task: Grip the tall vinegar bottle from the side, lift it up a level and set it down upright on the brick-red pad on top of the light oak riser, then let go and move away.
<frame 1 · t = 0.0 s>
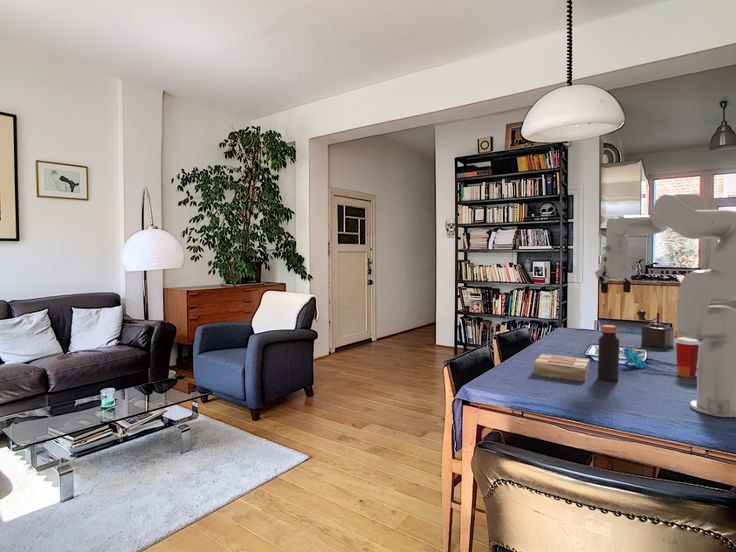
hand: (615, 292, 177), 31 cm above the table, tool pointing down, fingers open, 9 cm apart
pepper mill: (653, 346, 221), on the table
vinegar: (608, 379, 168), on the table
paper cup: (686, 375, 171), on the table
blue lumpy piece: (634, 367, 185), on the table
riser: (561, 373, 176), on the table
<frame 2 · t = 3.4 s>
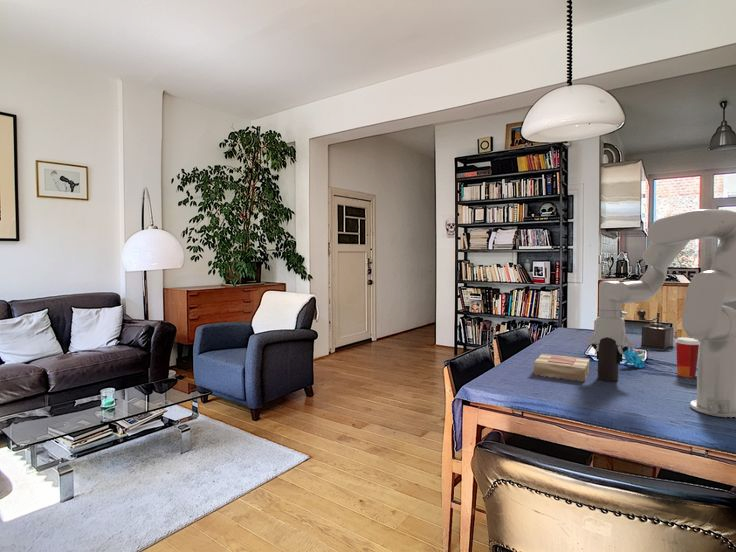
hand: (609, 362, 167), 7 cm above the table, tool pointing down, fingers closed on vinegar, 5 cm apart
vinegar: (607, 379, 168), on the table, touching gripper
everything else where it was.
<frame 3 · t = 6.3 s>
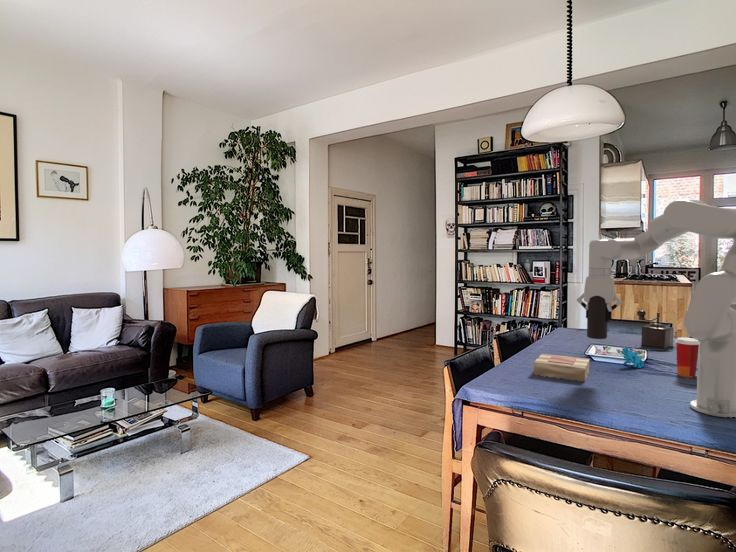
hand: (598, 320, 168), 22 cm above the table, tool pointing down, fingers closed on vinegar, 5 cm apart
vinegar: (596, 338, 169), point 15 cm above the table, touching gripper
everything else where it was.
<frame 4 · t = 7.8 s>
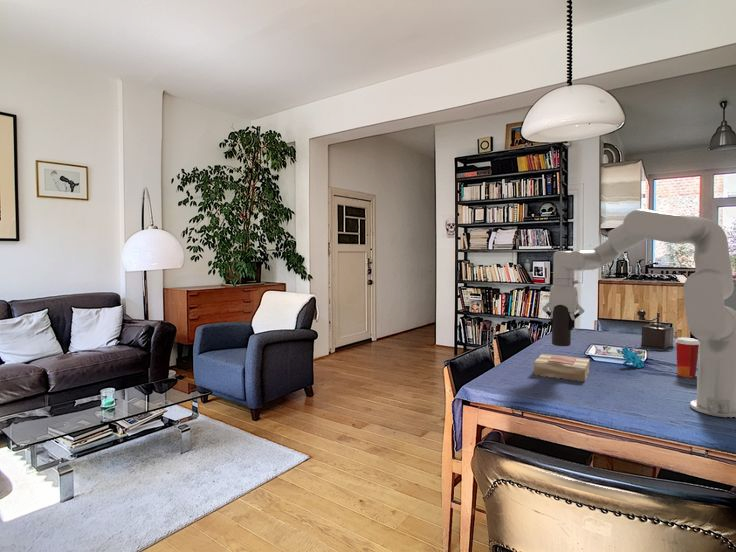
hand: (562, 328, 175), 18 cm above the table, tool pointing down, fingers closed on vinegar, 5 cm apart
vinegar: (561, 345, 176), point 11 cm above the table, touching gripper
everything else where it was.
when the fingers open (13 cm above the table, at t = 8.9 s): vinegar drops 1 cm, resting on riser.
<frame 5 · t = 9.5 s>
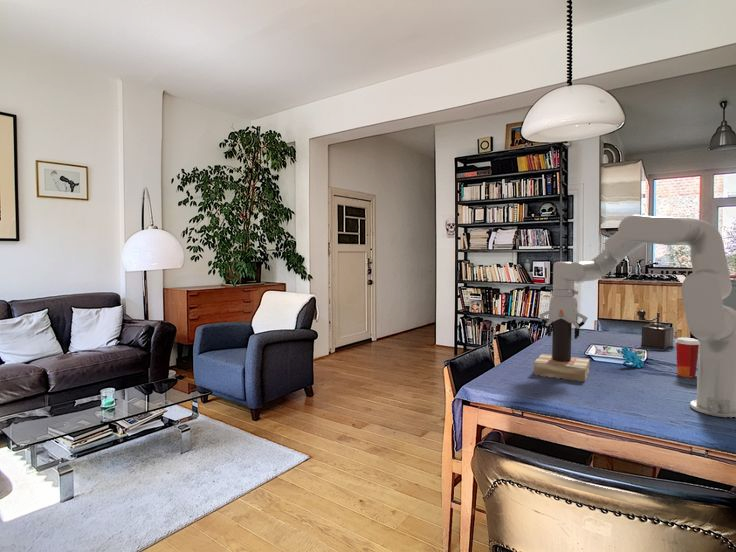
hand: (562, 337, 175), 14 cm above the table, tool pointing down, fingers open, 9 cm apart
vinegar: (561, 360, 176), point 5 cm above the table, touching riser
everything else where it was.
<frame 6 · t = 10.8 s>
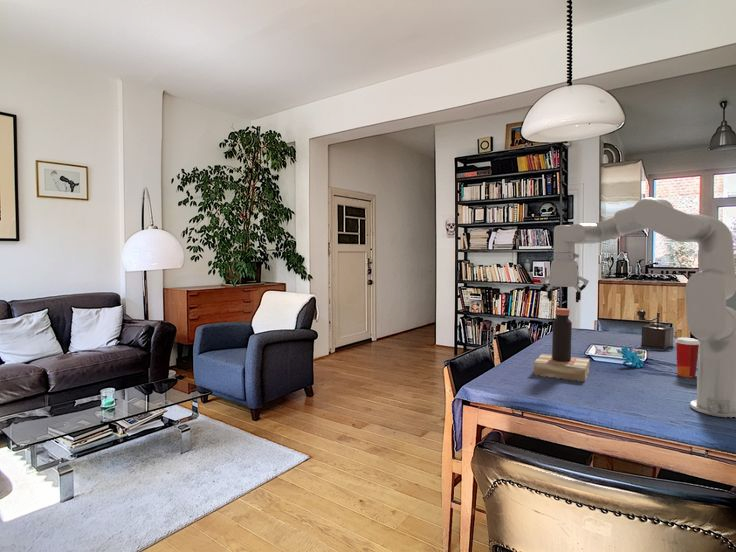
hand: (563, 301, 174), 28 cm above the table, tool pointing down, fingers open, 9 cm apart
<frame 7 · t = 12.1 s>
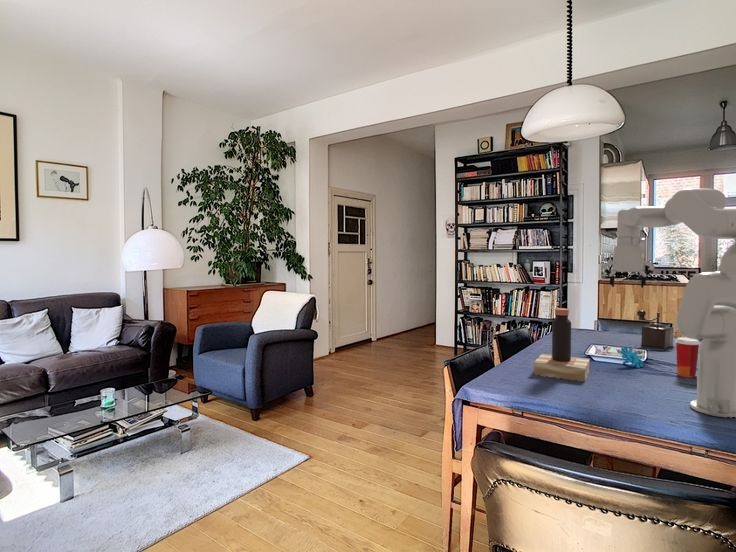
hand: (627, 287, 171), 34 cm above the table, tool pointing down, fingers open, 9 cm apart
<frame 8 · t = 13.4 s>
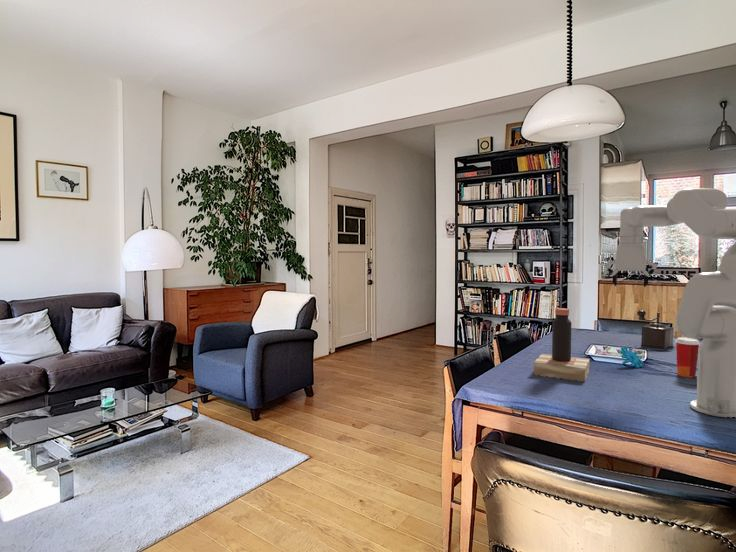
hand: (629, 286, 171), 34 cm above the table, tool pointing down, fingers open, 9 cm apart
at the end: vinegar inside the target area on the riser (0.3 cm from its centre), point 5.1 cm above the riser's base; vinegar tilted 0°; the gripper is holding nothing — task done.
